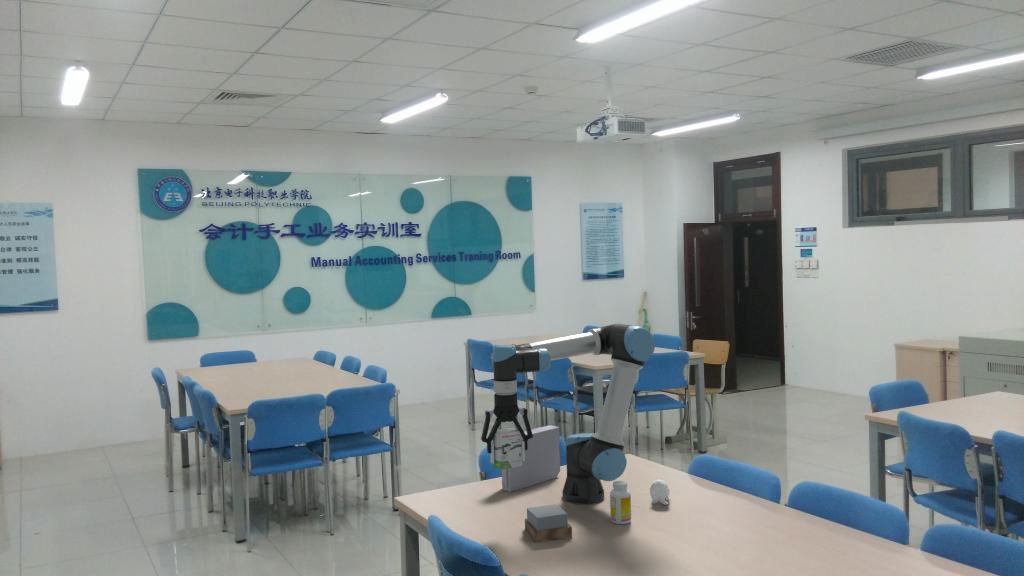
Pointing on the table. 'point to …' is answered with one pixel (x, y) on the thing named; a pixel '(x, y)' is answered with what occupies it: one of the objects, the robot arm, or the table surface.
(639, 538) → the table surface
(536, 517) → the slate-grey top block
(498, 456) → the ink box
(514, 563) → the table surface
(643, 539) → the table surface
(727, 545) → the table surface
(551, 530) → the walnut base block
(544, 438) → the game console
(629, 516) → the supplement bottle
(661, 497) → the white octopus figurine
